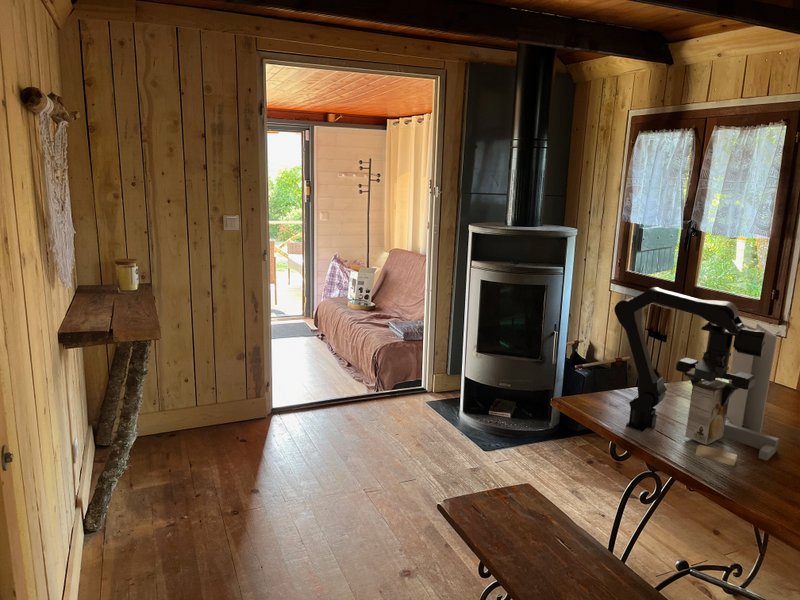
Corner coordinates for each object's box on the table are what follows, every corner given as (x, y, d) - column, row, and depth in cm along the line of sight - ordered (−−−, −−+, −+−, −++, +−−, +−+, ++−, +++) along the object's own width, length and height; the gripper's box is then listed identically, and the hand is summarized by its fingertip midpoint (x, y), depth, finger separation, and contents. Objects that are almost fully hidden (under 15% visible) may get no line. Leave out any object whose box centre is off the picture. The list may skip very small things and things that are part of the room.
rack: (691, 439, 167) (693, 423, 165) (702, 431, 172) (705, 415, 171) (766, 464, 153) (769, 447, 152) (775, 455, 158) (778, 438, 157)
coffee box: (700, 428, 168) (709, 376, 165) (723, 437, 163) (732, 383, 160) (684, 436, 163) (692, 382, 159) (707, 445, 158) (716, 390, 154)
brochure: (760, 434, 170) (777, 336, 164) (739, 432, 171) (755, 335, 165) (743, 415, 184) (757, 323, 177) (724, 413, 185) (738, 322, 178)
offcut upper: (695, 454, 155) (696, 448, 155) (698, 450, 158) (699, 444, 157) (733, 466, 150) (734, 459, 149) (736, 461, 152) (737, 454, 152)
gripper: (670, 345, 159) (662, 398, 162) (745, 364, 145) (735, 421, 149) (688, 337, 166) (680, 389, 170) (760, 355, 152) (750, 410, 156)
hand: (709, 402), depth 161 cm, fingers closed on coffee box, 6 cm apart
